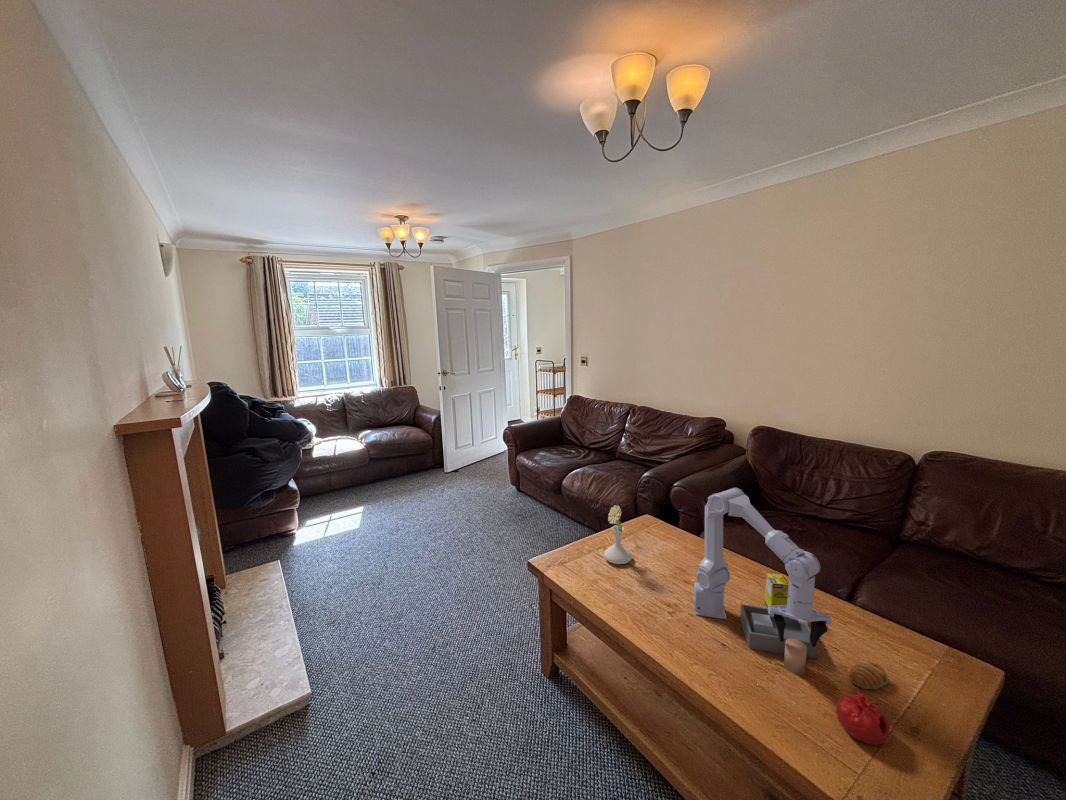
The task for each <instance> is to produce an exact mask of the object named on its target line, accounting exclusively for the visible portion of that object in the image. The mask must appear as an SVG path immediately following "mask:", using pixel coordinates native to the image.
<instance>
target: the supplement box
mask: <svg viewBox="0 0 1066 800" xmlns="http://www.w3.org/2000/svg"><path fill="white" fill-rule="evenodd" d="M788 586H789V577H788V576H787V575H786V574H780V573H769V572H768V573H767V572H766V574H765V589H764V602H763V603H764V604H765V605H766V608H768V605H770V606H778V605H787V598H788Z"/></svg>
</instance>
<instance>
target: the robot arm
mask: <svg viewBox="0 0 1066 800" xmlns="http://www.w3.org/2000/svg"><path fill="white" fill-rule="evenodd" d="M725 514H727V516H729V517H737V518H742V519H744V520H745V521H746V522H747V524H749V525H750V526H751V527H752V528H753V529H755V530H756V531H757V532H758V533H760V535H761V536H762V537H764V538H765V540H764V541H765V545H766V546H767V548H769V549H770V550H771V551H772V552H773V553H774V554H775V555H776V557H778V558H779V559H780V560H781V562H783V563H784V568H785V571H786V572H787V574H788V580H789V586H788V598H787V605H778V606H770V605H768V607H767V608H768V613H769V616H773V617H774V620H775V622H776V625H777V629H778V637H779V639H780V641H781V642H783V641H784V630H785V626H786V624H785V621H784V618H783V616H784V617H788V618H791V619H794V620H797V621H799V623H801V624H807V625H809V623H810V631H811V632H810V642H811V644H812V647H815V646H816V644H817V645H818V642H819V640H820V639H821V637H822V636H823V635H824V634H825V633H827V632H828V625H829V626H831V625H832V617H831V615H830V614H829V613H826V612H822V611H819V610H816V609H813V603H814V593H815V583H816V582H815V580H816V576H815V575H817V574H818V573H819V572H820V571H821V563H820V561H819V560H818V558H817V557H816V556H815V555H814V554H813V553H811V552H809V551H805V550H804V549H802V548H800V547H799V546H798V545H797V544H796V543H795V542H793V540H792V539H790V538H789V537H790V536H789V535H788V534H787V533H784V531H782V530H776V529H774V528H773V526H771V524H769V522H768V521H767V520H766V519H765V518H764V517H763V515H762V514H760V512H759V511H758V510H757V509H756V508H755V507H754V506H753V505H752V504H751V501H750V498H749V496H748V495H746V494H745V493H744V492H743V490H742V489H740V488H738V487H732V488H729V489H727V490H723V491H721V492H718V493H712V494H711V495H709V496H708V497H707V503H706V504H705V505H704V558H703V559H702V560H701V562H699V565H698V570H697V572H696V575H695V576H696V577H695V578H696V581H697V582H694V583H693V598H692V602H693V603H692V604H693V607H694V614H695V615H696V616H702V617H709V618H715V619H722V620H726V619H727V615H726V610H725V605H724V604H725V589H726V588H725V587H726V586H727V582H728V583H729V581H730V580H731V573H730V571H729V567H728V566H729V565H728V564H729V563H728V562H727V561H726V560H724V515H725Z"/></svg>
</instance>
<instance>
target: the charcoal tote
mask: <svg viewBox="0 0 1066 800" xmlns="http://www.w3.org/2000/svg"><path fill="white" fill-rule="evenodd" d="M751 613H757V614H763V615H769V613H768V607H765V606H764V607H763V606H757V605H749V604H743V603H741V604H740V613H739V618H740V623H741V626H742V628H743V629H742V630H743V632H744V633H743V634H744V636H745V640H746V643H747V647H748V649H753V650H758V651H764V652H771V653H775V654H782V655H784V654H785V642H786V640H787V639H789V638H793V639H797V640H799V641H801V642H803V643H804V644H805V645H806V647H807V653H806V659H811V660H817V659H816V658H817V650H818V649H817V648H818V643H817V644H816V646H815V647H812V644H811V642H810V632H811V628H810V627H809V624H801V623H799V621H797V620H794V619H791V618H788V617H784V616H783V618H784V621H785V624H786V626H785V630H784V641H783V642H781V641H780V639H779V637H778V629H777V625H776V622H775V620H774V617H773V616H770V619H771V622H772V625H773V635H767V634H760V633H754V632H752V631H751V628H750V623H751Z"/></svg>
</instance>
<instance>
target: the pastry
mask: <svg viewBox="0 0 1066 800" xmlns="http://www.w3.org/2000/svg"><path fill="white" fill-rule="evenodd" d="M849 677H850V682H851V683H852V684H853V685H855V686H857V687H858V688H861V689H862V690H878V689H879V688H883V687H885V686H886V685H887V684H889V683H890V677H888V674H887V673H886V670H885V669H884V668H883V667H882V666H881V665H879V663H877V662H875V661H871V660H869V659H868V660H863V661H861V662H858V663H857V662H856V664H855V665H853V667H852V669H851V672H850V675H849Z"/></svg>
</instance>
